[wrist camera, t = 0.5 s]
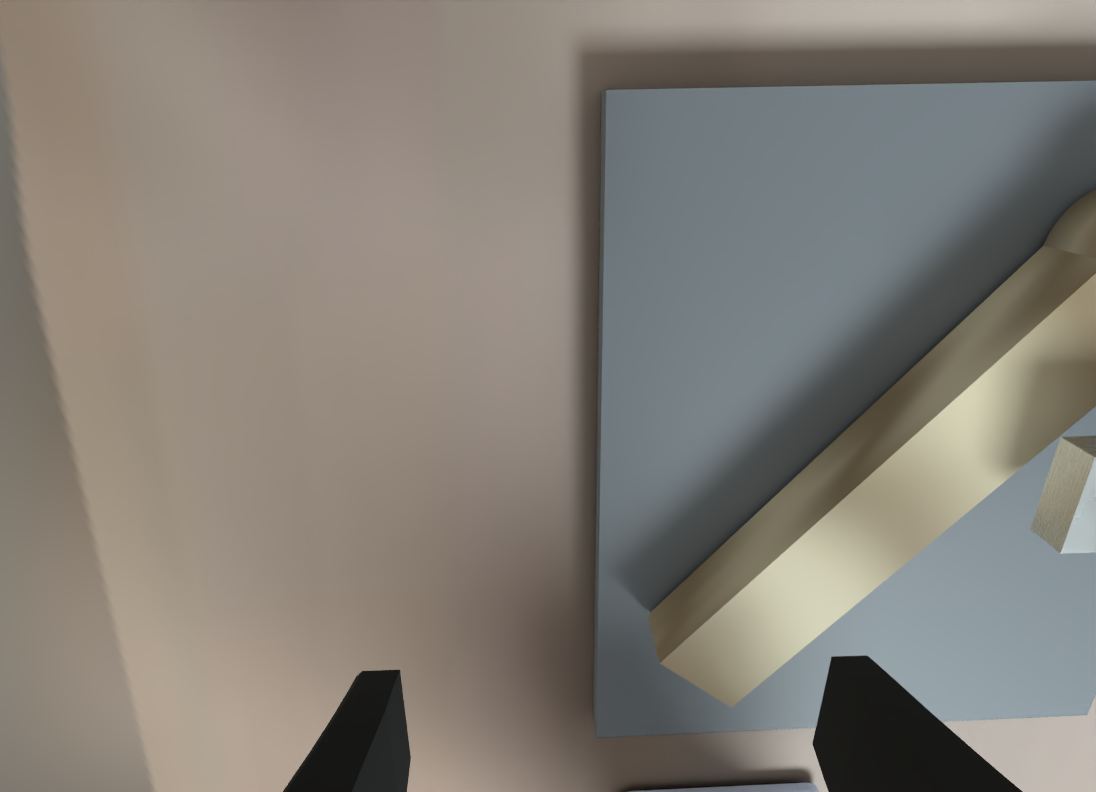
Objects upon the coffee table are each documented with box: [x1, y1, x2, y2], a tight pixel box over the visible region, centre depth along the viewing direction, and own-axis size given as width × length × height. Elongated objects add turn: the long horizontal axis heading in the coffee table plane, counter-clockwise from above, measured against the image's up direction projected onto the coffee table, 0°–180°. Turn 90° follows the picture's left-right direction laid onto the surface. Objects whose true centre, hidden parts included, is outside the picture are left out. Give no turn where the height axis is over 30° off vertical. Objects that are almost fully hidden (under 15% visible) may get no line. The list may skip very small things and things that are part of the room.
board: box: [593, 81, 1096, 738], centre depth 20 cm, size 21×18×1 cm
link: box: [648, 189, 1096, 708], centre depth 17 cm, size 18×4×3 cm, turn 141°
